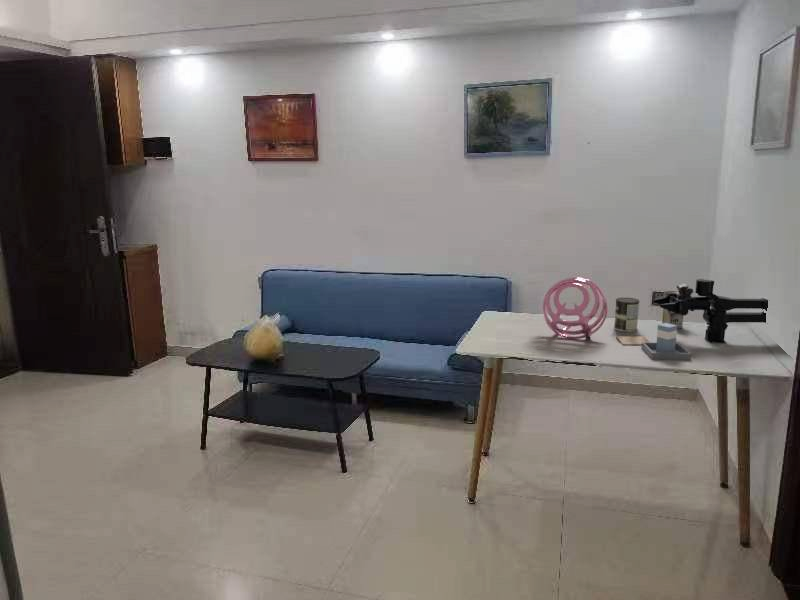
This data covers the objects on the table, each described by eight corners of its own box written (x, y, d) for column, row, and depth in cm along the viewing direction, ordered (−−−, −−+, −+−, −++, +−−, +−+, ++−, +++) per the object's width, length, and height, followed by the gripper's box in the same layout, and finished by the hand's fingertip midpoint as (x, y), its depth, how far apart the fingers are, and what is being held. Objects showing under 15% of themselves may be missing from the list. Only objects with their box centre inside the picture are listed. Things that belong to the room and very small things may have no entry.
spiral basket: (562, 283, 284) (554, 259, 261) (619, 303, 270) (615, 279, 247) (537, 333, 279) (527, 313, 256) (593, 356, 265) (588, 337, 242)
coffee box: (683, 328, 274) (685, 294, 270) (669, 328, 274) (671, 294, 270) (674, 322, 283) (677, 290, 279) (661, 323, 283) (663, 290, 279)
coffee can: (613, 330, 272) (615, 301, 269) (614, 325, 281) (616, 296, 278) (637, 332, 268) (639, 302, 265) (637, 326, 277) (639, 298, 274)
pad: (644, 338, 258) (644, 336, 258) (652, 346, 247) (652, 344, 247) (616, 338, 260) (616, 336, 260) (622, 346, 248) (622, 344, 248)
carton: (663, 351, 239) (665, 322, 237) (674, 354, 235) (677, 325, 232) (655, 353, 237) (657, 324, 234) (666, 356, 232) (669, 327, 230)
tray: (677, 349, 242) (678, 342, 241) (690, 361, 228) (691, 353, 227) (641, 349, 244) (641, 342, 243) (651, 360, 230) (652, 353, 229)
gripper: (688, 281, 258) (651, 281, 260) (704, 289, 240) (665, 289, 241) (686, 305, 260) (649, 305, 262) (702, 315, 242) (663, 315, 244)
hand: (656, 303), depth 252 cm, fingers open, 9 cm apart
